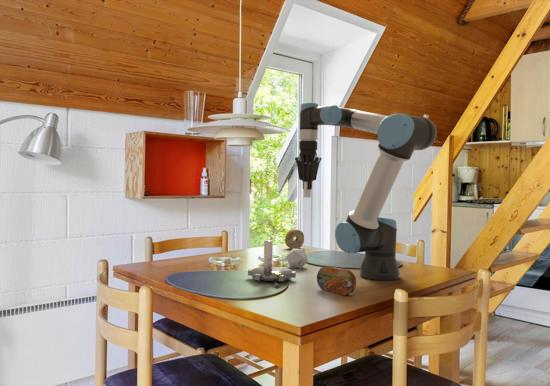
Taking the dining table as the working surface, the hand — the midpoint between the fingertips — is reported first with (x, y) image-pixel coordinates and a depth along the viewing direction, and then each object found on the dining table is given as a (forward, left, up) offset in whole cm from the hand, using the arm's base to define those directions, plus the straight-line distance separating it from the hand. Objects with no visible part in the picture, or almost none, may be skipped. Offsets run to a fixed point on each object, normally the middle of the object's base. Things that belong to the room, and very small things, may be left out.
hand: (307, 197), depth 202 cm
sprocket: (-8, +27, -28) cm, 40 cm away
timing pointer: (-17, +33, -29) cm, 47 cm away
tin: (-35, +23, -30) cm, 51 cm away
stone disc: (+37, -32, -30) cm, 57 cm away
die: (+2, +3, -30) cm, 30 cm away
